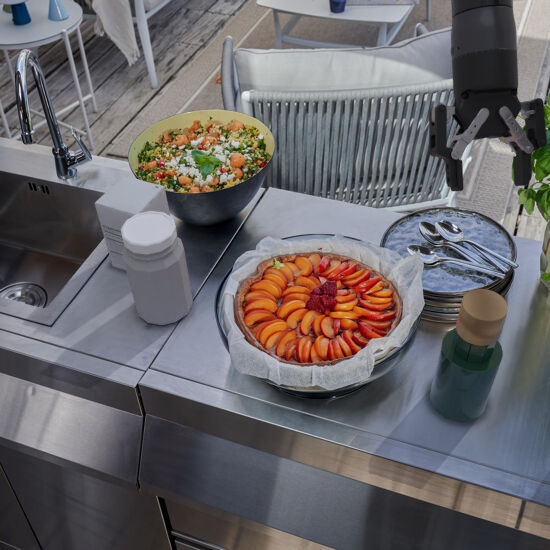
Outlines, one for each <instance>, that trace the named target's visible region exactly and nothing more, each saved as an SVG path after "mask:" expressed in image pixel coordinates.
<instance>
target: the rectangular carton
mask: <svg viewBox="0 0 550 550" xmlns="http://www.w3.org/2000/svg"><path fill="white" fill-rule="evenodd" d="M94 206H95V211H96V214H97V218H98V221H99V225H100V227H101V231H102V234H103V238H104V241H105V242H104V243H105V245H106V248H107V252H108V256H109V259H110V262H111V266H112V267H114V268H116V269H119V270H123V271H126V268H125V264H124V259H123V254H122V251H123V250H124V248H125V246H124V242H123V238H122V233H121V228H122V226H123V225H124V223H125V221H126V220H128V219H129V218H131V217H133V216H134V215H136V214H138V213H143V212H148V211H156V212H164V213H166V214H167V215H169V216H170V217H171V213H170V208H169V203H168V198H167V192H166V187H165V185H162V184H158V183H153V182H149V181H146V180H142V179H138V178H136V177H131V176H127V175H122V176H121V177H120V178H119V179H118V180H117V181H116V182H115V183H114V184H113V185H112V186H111V187H110V188H109V189H108V190H107V191H106V192H105V193H103V194H102V195H101V196H100V197H99V198H98V199H97V200H96V201H95V202H94Z"/></svg>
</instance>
